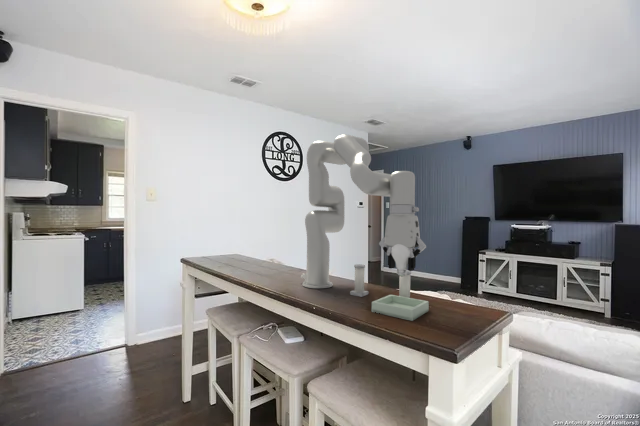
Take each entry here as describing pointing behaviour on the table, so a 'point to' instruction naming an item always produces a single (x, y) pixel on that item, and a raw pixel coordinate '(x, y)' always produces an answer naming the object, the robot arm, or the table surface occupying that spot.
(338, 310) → the table surface
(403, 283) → the post
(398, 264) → the light bulb
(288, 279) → the table surface
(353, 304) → the table surface
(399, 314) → the tray
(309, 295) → the table surface
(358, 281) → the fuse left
